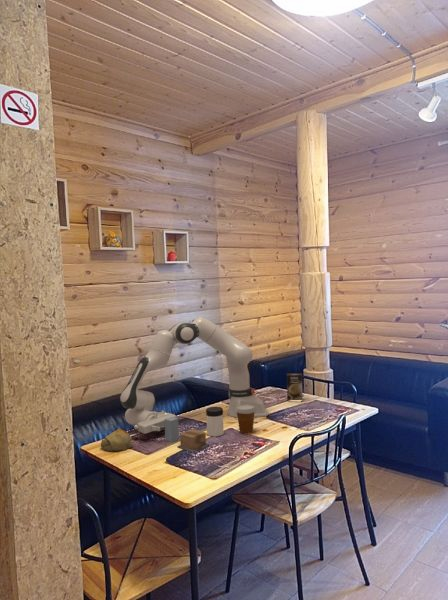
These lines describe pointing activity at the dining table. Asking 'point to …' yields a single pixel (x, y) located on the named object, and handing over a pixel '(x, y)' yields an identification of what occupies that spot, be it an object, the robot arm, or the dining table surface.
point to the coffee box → (294, 386)
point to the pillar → (171, 429)
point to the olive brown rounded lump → (117, 441)
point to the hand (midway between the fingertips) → (168, 426)
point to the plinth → (193, 440)
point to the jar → (214, 421)
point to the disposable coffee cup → (245, 418)
